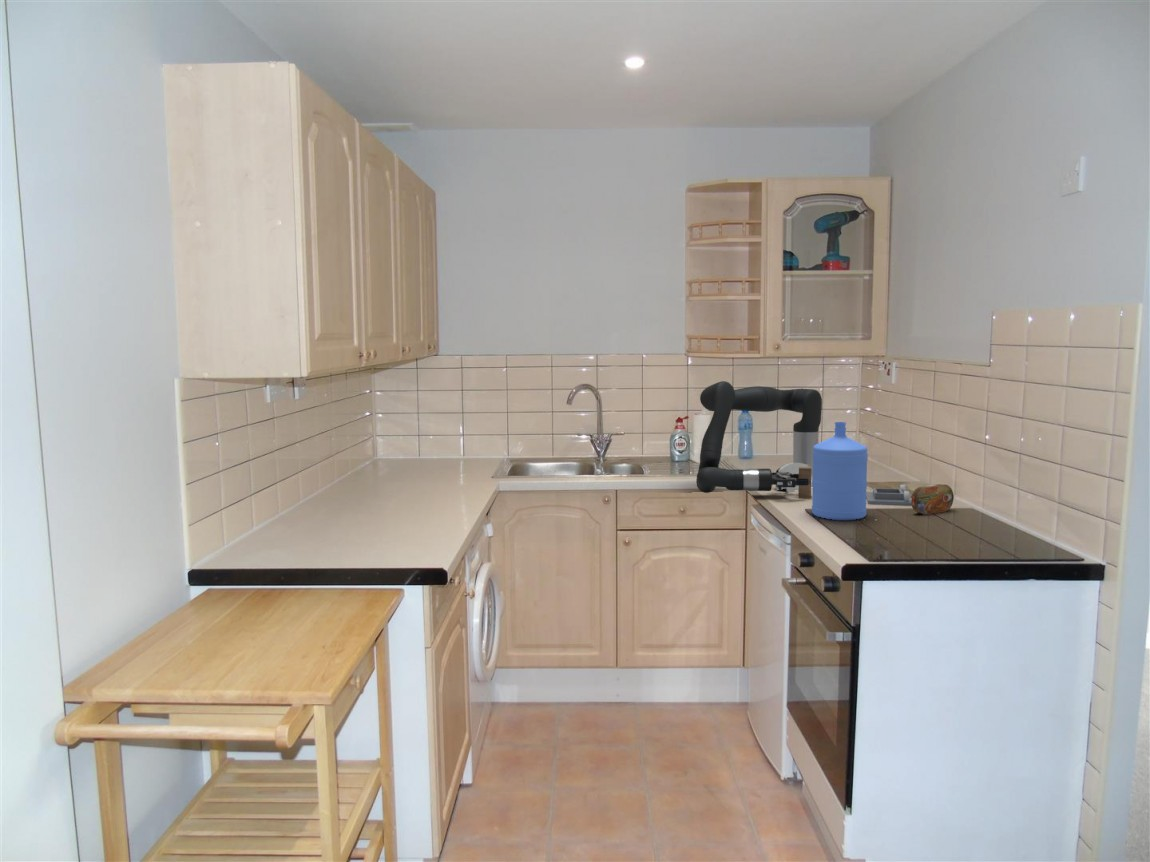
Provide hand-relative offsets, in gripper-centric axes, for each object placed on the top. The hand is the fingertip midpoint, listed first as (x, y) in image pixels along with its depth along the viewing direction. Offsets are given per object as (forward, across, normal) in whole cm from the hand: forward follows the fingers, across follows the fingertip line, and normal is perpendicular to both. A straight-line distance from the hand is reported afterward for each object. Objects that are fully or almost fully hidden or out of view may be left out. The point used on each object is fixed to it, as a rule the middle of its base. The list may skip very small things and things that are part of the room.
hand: (806, 479), depth 268 cm
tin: (+33, -22, +6) cm, 41 cm away
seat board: (+25, -4, +6) cm, 26 cm away
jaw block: (0, 0, +6) cm, 6 cm away
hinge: (-1, +16, +6) cm, 17 cm away
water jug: (+5, -26, +6) cm, 28 cm away
